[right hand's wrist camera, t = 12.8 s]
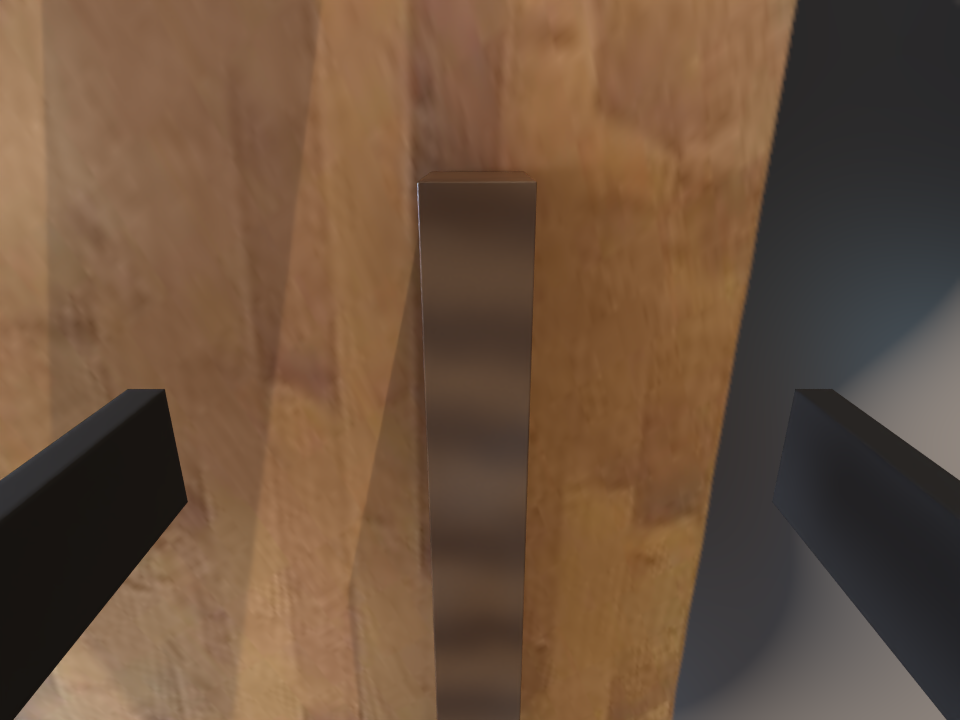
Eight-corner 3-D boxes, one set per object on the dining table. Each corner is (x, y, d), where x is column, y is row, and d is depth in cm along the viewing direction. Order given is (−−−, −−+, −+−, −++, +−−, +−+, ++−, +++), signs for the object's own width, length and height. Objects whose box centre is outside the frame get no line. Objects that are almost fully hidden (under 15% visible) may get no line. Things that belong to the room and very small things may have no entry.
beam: (430, 171, 34) (416, 181, 27) (524, 171, 34) (537, 181, 27) (451, 869, 56) (446, 979, 49) (507, 869, 56) (511, 979, 49)
